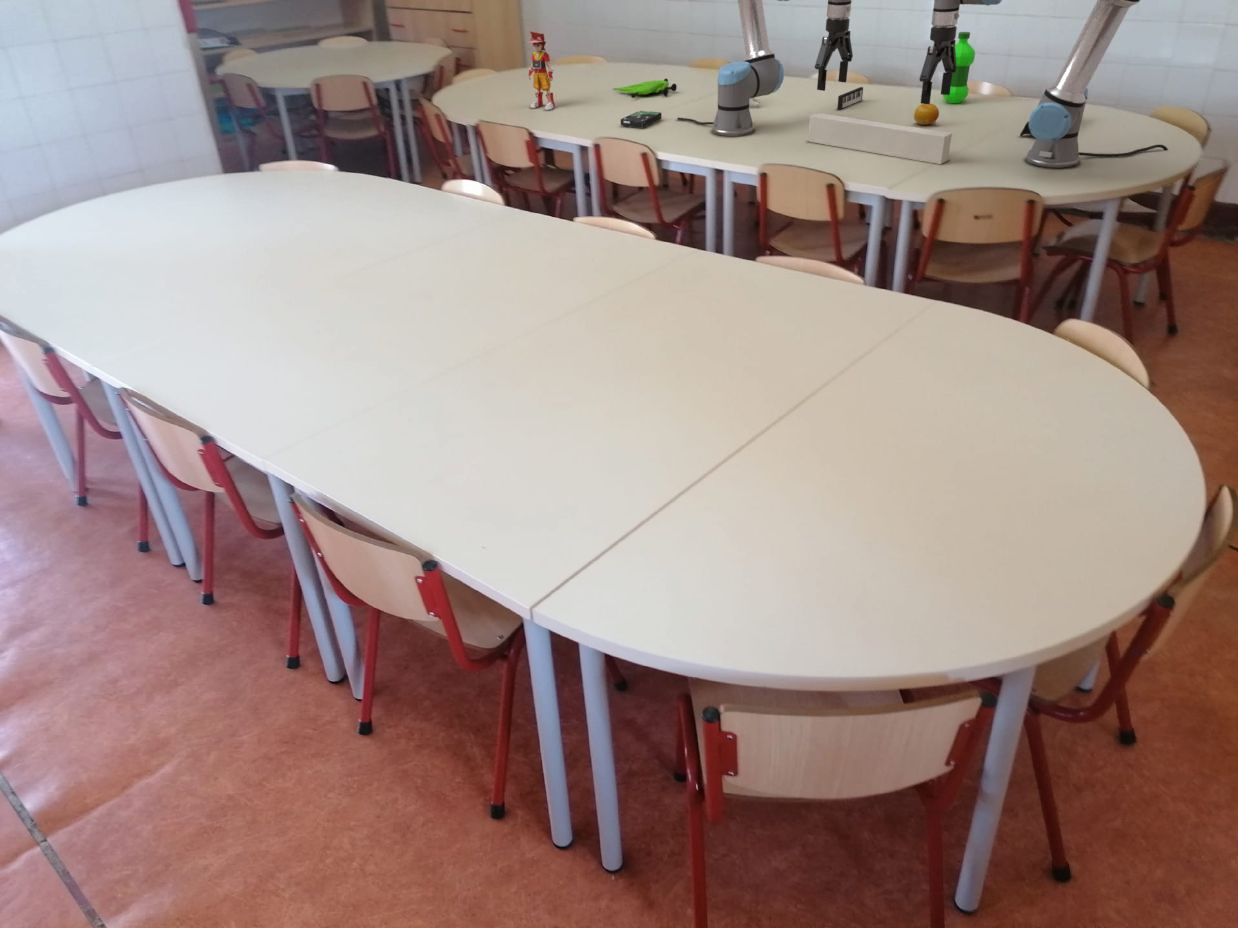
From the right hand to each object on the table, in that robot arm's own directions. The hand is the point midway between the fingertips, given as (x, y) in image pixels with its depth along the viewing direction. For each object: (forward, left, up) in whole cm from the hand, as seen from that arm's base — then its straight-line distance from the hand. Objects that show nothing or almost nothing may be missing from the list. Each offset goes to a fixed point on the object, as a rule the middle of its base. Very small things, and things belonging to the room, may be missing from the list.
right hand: (935, 99), depth 286 cm
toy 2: (+52, -141, -19) cm, 152 cm away
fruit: (-24, -37, -19) cm, 48 cm away
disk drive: (+69, -91, -19) cm, 116 cm away
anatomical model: (+22, -98, -19) cm, 103 cm away
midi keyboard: (-14, -76, -19) cm, 80 cm away
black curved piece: (-58, -11, -19) cm, 62 cm away
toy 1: (+98, -136, -19) cm, 169 cm away
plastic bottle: (-51, -60, -19) cm, 81 cm away
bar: (+10, -16, -19) cm, 27 cm away
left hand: (+19, -33, 0) cm, 38 cm away
